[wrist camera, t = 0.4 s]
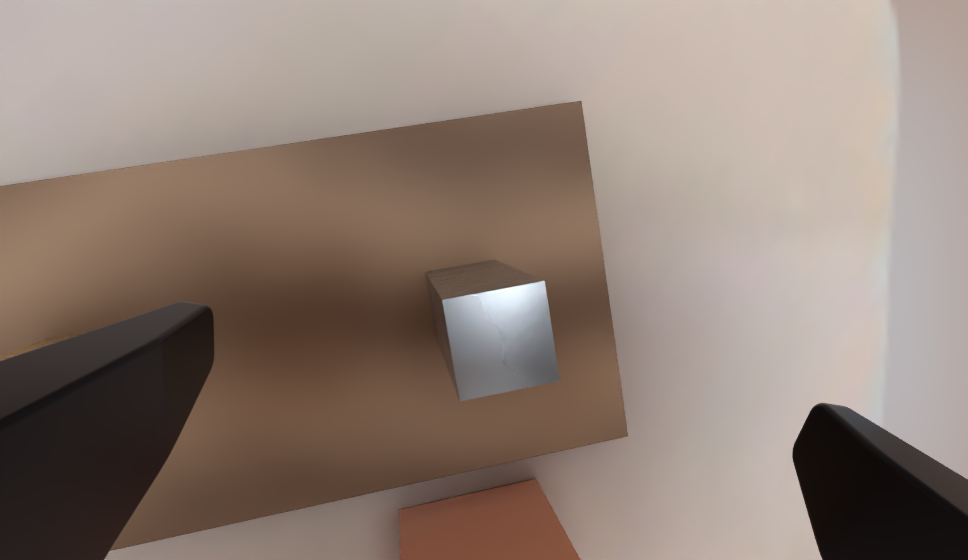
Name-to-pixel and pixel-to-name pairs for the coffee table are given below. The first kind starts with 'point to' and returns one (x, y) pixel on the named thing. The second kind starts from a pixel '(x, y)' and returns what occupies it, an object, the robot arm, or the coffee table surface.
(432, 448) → the board
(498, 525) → the salmon orange block
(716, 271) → the coffee table surface
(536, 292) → the steel post
